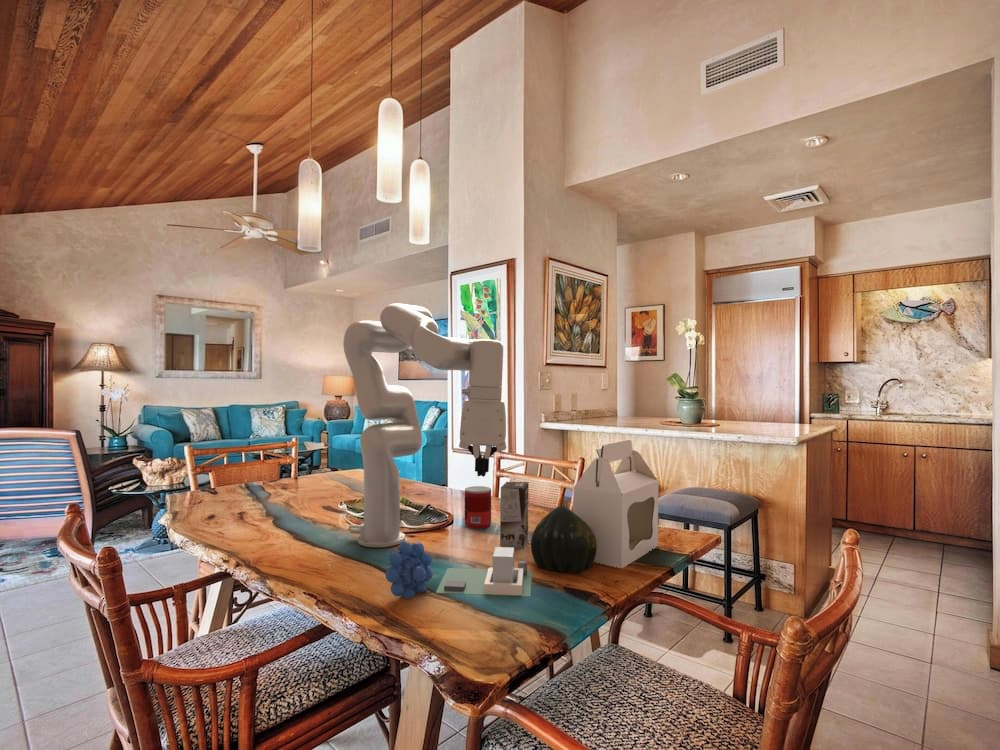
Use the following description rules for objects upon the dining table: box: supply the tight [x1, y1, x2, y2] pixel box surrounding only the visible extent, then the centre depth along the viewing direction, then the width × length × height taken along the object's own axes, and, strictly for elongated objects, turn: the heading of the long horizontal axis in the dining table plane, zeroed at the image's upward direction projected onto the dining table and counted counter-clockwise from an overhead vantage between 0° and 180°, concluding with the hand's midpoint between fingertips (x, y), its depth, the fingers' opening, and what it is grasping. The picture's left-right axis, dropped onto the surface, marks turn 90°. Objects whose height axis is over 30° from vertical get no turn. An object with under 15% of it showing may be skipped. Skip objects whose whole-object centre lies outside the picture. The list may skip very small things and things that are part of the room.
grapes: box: [385, 541, 433, 599], centre depth 106 cm, size 12×7×12 cm, turn 141°
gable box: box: [572, 439, 659, 569], centre depth 138 cm, size 22×13×28 cm, turn 142°
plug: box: [492, 546, 515, 583], centre depth 112 cm, size 4×7×7 cm, turn 175°
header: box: [484, 566, 523, 596], centre depth 112 cm, size 8×10×2 cm
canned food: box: [464, 485, 492, 530], centre depth 161 cm, size 8×8×11 cm
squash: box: [530, 504, 597, 575], centre depth 125 cm, size 14×15×15 cm
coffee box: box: [499, 481, 530, 550], centre depth 143 cm, size 9×6×16 cm
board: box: [435, 560, 533, 597], centre depth 114 cm, size 19×14×4 cm
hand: (481, 475), depth 122 cm, fingers closed
